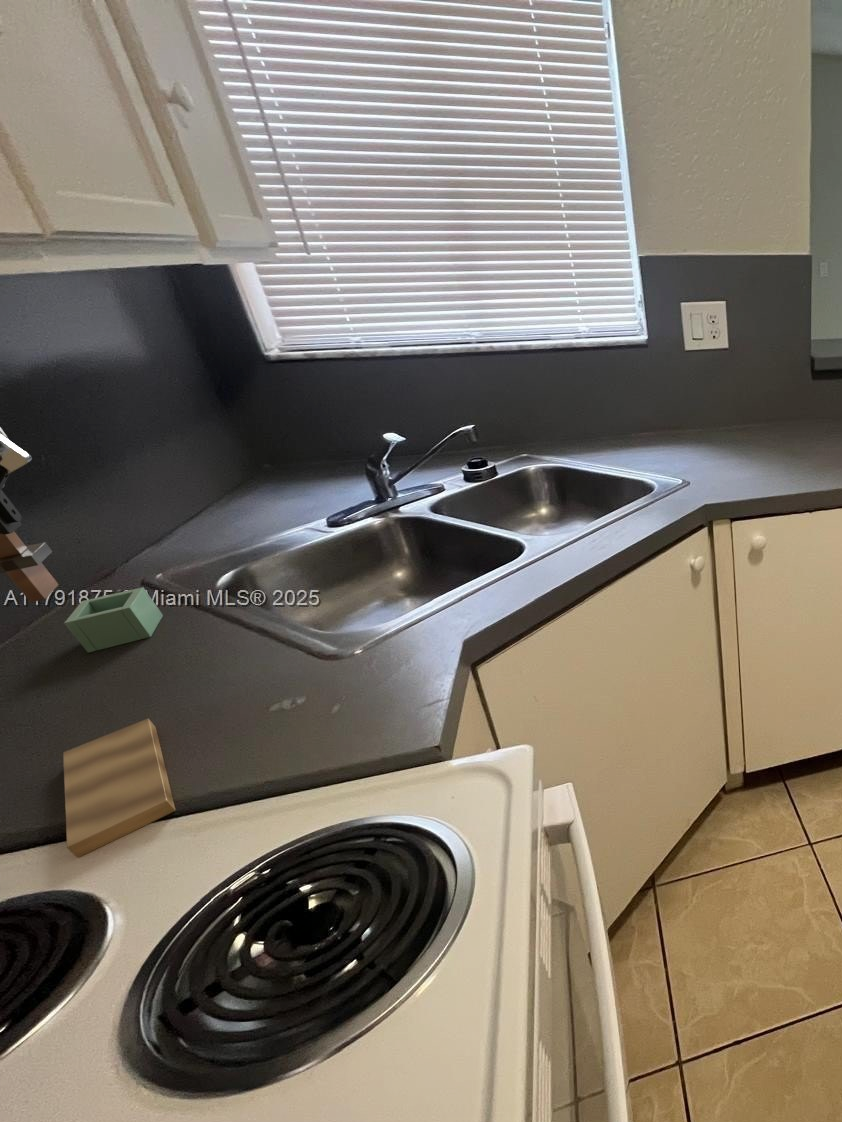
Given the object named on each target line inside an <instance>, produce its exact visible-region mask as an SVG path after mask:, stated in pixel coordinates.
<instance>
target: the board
mask: <svg viewBox="0 0 842 1122" xmlns="http://www.w3.org/2000/svg"><path fill="white" fill-rule="evenodd" d="M62 755H63V757H62V758H63V759H62V760H63V780H64V781H63V783H64V805H65V807H64V808H65V832H66V848H67V849H68V850H69V851H70V852H71V853H72V855H74V856H75V857H76V858H80V857H82V856H84V855H86V854H89V853H90V852H93V851H95V850H97V849H99V848H101V847H103V846H105V845H107V844H110V843H112V842H114V841H116V840H118V839H120V838H122V837H124V836H126V835H128V834H130V833H132V832H134V831H136V830H138V829H141V828H144V827H145V826H147V825H149V824H151V823H154V822H156V821H158V820H160V819H162V818H164V817H166V816H168V815H170V814H172V813H175V812H176V806H175V803H174V802H175V801H174V798H173V793H172V789H171V785H170V781H169V777H168V772H167V769H166V765H165V760H164V756H163V752H162V747H161V743H160V740H159V735H158V731H157V727H156V726H155V725H154V723H153V722H152V721H151V720H150V718H146V719H143V720H141V721H138V722H136V723H133V724H131V725H128V726H126V727H123V728H121V729H118V730H116V731H113V732H111V733H107V734H106V735H103V736H100V737H98V738H96V739H93V740H91V741H88V742H86V743H83V744H81V745H79V746H76V747H73V748H71V749H68V750H66V751H63V753H62Z"/></svg>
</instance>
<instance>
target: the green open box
mask: <svg viewBox="0 0 842 1122" xmlns="http://www.w3.org/2000/svg"><path fill="white" fill-rule="evenodd" d="M123 591H124V592H120V593H116V592H115V593H112V594H107V595H102V596H98V597H93V598H91V599H85V600H81V602H80V603H79V604H78V605H77V606H76V608H74V610H73V612H72V613H71V614H70V615H69V616H68V618H66V620H65V621H64V625H65V626H66V628H67V629H68V630H69V631H70V632H71V634H72V635H73V636H74V638H76V640H77V641H78V642H79V643H80V645H81V646H82V648H84V650H85V651H86V652H87V653H89V654H90V653H93V652H97V651H101V650H105V649H109V648H113V647H116V646H121V645H124V644H128V643H132V642H137V641H141V640H143V639H149V638H152V636H153V634H154V632H155V631H156V629H157V627H158V626H159V623H161V620H162V618H163V616H164V615H163V613H162V612H161V610H160V608H159V607H158V606H157V605H156V603H155V601H154V600H153V599H152V598H151V596H150V595H149V593H148V592H147V590H146V589H145V587H144V586H142V587H138V588H133V589H128V590H123Z"/></svg>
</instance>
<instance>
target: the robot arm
mask: <svg viewBox="0 0 842 1122" xmlns="http://www.w3.org/2000/svg"><path fill="white" fill-rule="evenodd" d="M0 457H1V460H0V534H4V535H5V534H11V533H13V532H15V531H16V530H18V529H19V528H20V527H21V526H22V522H21V521H22V518H23V517H22V515H21V513H20V512H19V510H18V509H17V508H16V507H15V505H14V504H13V502H12V501H11V500H10V498H9V497H8V496H7V495H6V494H5V492H4V491H3V488H5V484H6V482H7V480H8V479H9V477H10V475H11V473H13V472H15V471H17V470H18V469H20V468H22V467H24V466H25V465H27V464H29V463H30V462H31V461H32V460H33V457H32V455H31V454H30V453H28V452H27V451H26V450H23V448H21V447H19V446H18V445H17V444H15V443H14V442H12V441H11V440H10V439H9V437H8V435H7V434H6V433H5V432H4V430H3V428H2V427H1V426H0Z"/></svg>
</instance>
